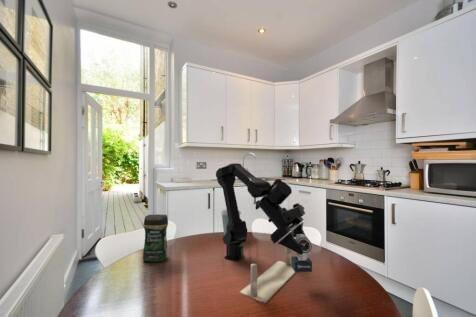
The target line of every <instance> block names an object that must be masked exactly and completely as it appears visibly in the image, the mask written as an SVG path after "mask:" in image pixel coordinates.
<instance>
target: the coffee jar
mask: <svg viewBox="0 0 476 317" xmlns="http://www.w3.org/2000/svg"><path fill="white" fill-rule="evenodd" d="M143 219H144V221H143V229H144V245H143V252H142V253H143V254H142V260H143V261H144V262H145V261H147V262H148V261H149V262H150V263H151V262H152V263H156V262H157V263H158V262H159V261H160V262H163V261H165V260H166V259H167V258H168V257H169V256H168V255H169V254H168V240H167V230H168V226H169V221H168V219H169V218H168V215H167V214H157V213H156V214H147V215H145V216H144V218H143ZM147 262H146V263H147ZM149 262H148V263H149Z"/></svg>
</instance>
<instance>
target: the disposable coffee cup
mask: <svg viewBox="0 0 476 317" xmlns="http://www.w3.org/2000/svg"><path fill="white" fill-rule="evenodd" d="M238 211H239V216H240V217H241V214H242V213H241V211H240V210H239V209H238ZM220 212H221V213H220V214H221V218H222V228H223V229H222V230H223V236H224V235H225V234H226V233H227V230H226V227H227V224H228V221H229V219H228V214H227V208H226V209H225V208H224V209H222V210H221V211H220Z"/></svg>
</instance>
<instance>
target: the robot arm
mask: <svg viewBox="0 0 476 317" xmlns="http://www.w3.org/2000/svg"><path fill="white" fill-rule="evenodd" d="M215 177H216V180H217V183H218V184H219V185H220V187H221V188H222V192H223V197H224V202H225V208H226V209H227V214H228V219H229V221H228V224H227V227H226V230H227V233H226V234H225V235H224V234H223V237H222V240H223V241H222V242H223V244H225V245H226V247H225V248H226V249H225V250H226V253H225V254H226V255H225V256H224V259H227V260H232V261H236V262H238V261H240V260H241V259H242V258H244V256H245V254H244V252H245V251H244V246H243V243H246V241H247V237H248V227H247V222H246V221H245V220H242V219H241V215H240V216H239V211H238V210H239V207H238V202H237V196H236V192H235V186H234V185H235V182H236V178H237V179H238V180H239V181H240V182H242V183H243V184H244V185H245V186H246V188H247V192H248V193H249V194H250V195H251V197H252V198H254V199H256V198H257V199H259V198H261V199H259V200H257V201H255V210H258V209H261V210H262V212H263V213H264V214H265V215H266V217H267V218H268V219H267V221H268V222H269V223H272V224H273V225H274V226H275V227H276V230H274V231H273V232H272V233H271V234H270V240H271V241H272V243H273V244H274V245H275V244H276V243H277V245H281V246H283V247H287V248H289V249H291V251H293V252H295V253H296V252H297V253H299V254H300V255H302V254H303V253H304V252H303V250H302V249H301V247H300V246H299V244H298V243H297V241H296V240H295V239H296V235H297V234H304V235H305V236H306V233H305V232H304V222H303V221H305V219H304V218H303V216H304V215H306V212H305V207H304V205H302V204H300V203H299V202H298V203H297V202H296V203H294V204H293V205H292V208H289V209H287V208H286V207H282V206H281V204H283V203H284V202H285V201H286V200H287V198H288V197H290V196H291V194H293V193H292V192H293V191H292V190H293V189H292V187H291V186H290V185H288V183H286V182H284V181H282V179H281V178H276V179H275V180H274V181H273V184H271V183H270V182H269V181H267V180H265V179H263V178H259V177H256V176H255V175H254V174H252V173H251V172H250V171H248V170H247V169H246V168H245V167H243V166H242V164H241V163H238V162H237V163H236V162H235V163H229V164H228V165H226V166H223V167H219V168H217V170H216V171H215Z"/></svg>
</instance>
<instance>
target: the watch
mask: <svg viewBox="0 0 476 317" xmlns="http://www.w3.org/2000/svg"><path fill="white" fill-rule="evenodd" d="M305 235H306V234H305ZM305 235H304V234H297V235H296V238H295V240H296V241H297V243H298V244H299V246H300V247H301V249H302V250H303V252H304V253H303V254H302V255H300V254H299V253H297V252H295V254H296V256H291V266H292V268H293V270H294V271H295V272H296V273H311V272H313V261H312V260H311V259H310V258H309V256H310V255H311V251H312V249H313V246H314V245H313V244H312V242H311V240H310V239H309V238H308V236H305Z"/></svg>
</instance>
